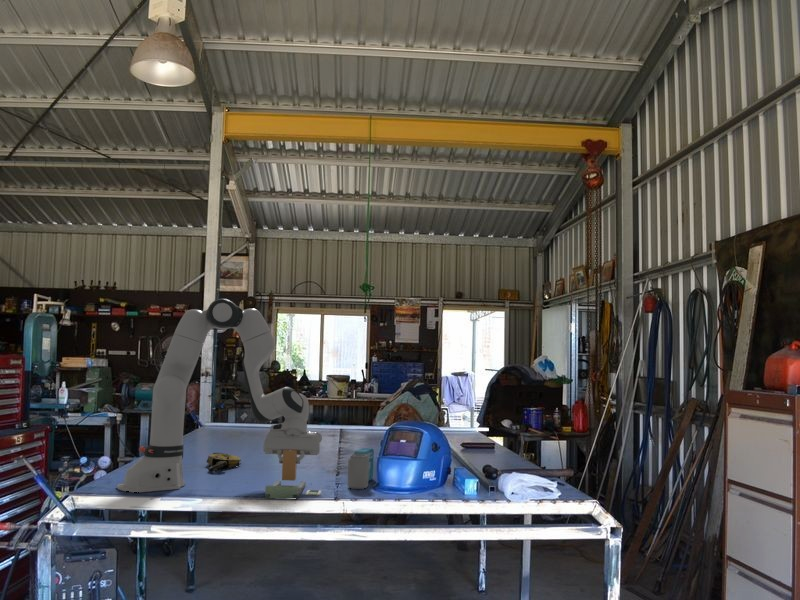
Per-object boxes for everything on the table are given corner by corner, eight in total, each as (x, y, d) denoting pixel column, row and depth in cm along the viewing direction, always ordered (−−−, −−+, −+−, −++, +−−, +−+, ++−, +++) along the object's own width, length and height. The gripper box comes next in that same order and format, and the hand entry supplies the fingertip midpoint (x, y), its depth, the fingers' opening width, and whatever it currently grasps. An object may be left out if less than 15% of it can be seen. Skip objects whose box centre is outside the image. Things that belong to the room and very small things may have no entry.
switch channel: (276, 485, 242) (277, 473, 243) (323, 486, 243) (324, 475, 243) (265, 498, 218) (265, 486, 218) (317, 499, 219) (318, 487, 219)
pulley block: (198, 457, 262) (213, 447, 292) (195, 471, 262) (210, 460, 292) (234, 463, 263) (245, 453, 293) (230, 478, 263) (242, 466, 292)
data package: (364, 484, 250) (365, 451, 251) (352, 483, 251) (353, 451, 252) (372, 479, 261) (373, 448, 263) (361, 478, 263) (363, 447, 264)
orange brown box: (283, 478, 238) (284, 449, 239) (296, 478, 238) (297, 449, 239) (281, 480, 234) (283, 450, 235) (294, 480, 234) (295, 451, 235)
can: (370, 487, 244) (371, 454, 245) (364, 490, 237) (365, 456, 238) (351, 485, 246) (352, 452, 247) (344, 489, 239) (345, 455, 240)
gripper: (322, 438, 249) (319, 468, 238) (267, 436, 248) (261, 467, 237) (322, 427, 245) (318, 457, 234) (266, 425, 244) (260, 456, 233)
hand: (289, 462), depth 236 cm, fingers closed on orange brown box, 4 cm apart
